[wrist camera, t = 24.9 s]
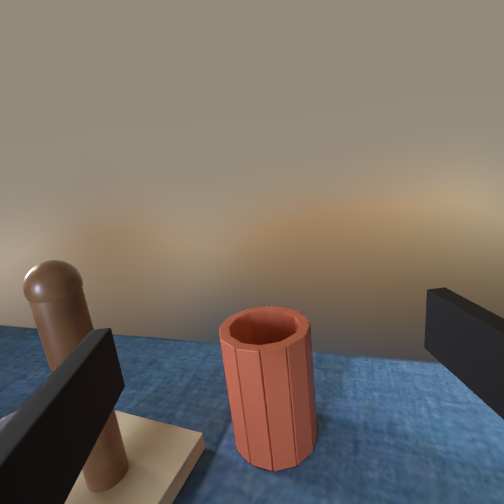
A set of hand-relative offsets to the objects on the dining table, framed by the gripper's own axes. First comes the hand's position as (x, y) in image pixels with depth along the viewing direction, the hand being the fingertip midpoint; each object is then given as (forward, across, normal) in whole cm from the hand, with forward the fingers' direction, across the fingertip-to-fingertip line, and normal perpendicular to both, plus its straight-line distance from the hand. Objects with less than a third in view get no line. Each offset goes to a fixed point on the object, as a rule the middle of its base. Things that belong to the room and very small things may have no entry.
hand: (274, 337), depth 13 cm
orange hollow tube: (+10, 0, -15) cm, 17 cm away
